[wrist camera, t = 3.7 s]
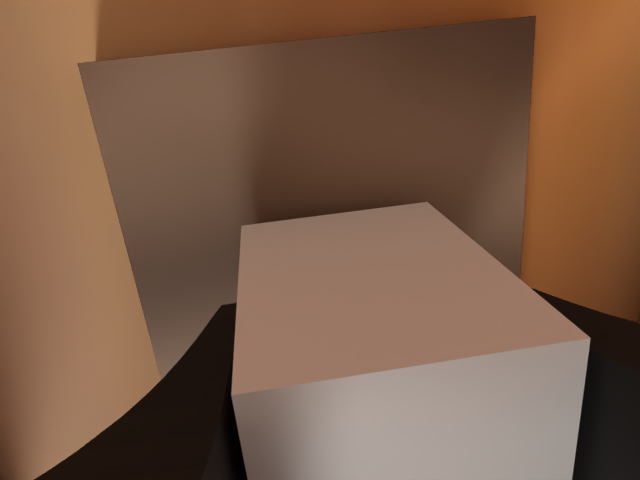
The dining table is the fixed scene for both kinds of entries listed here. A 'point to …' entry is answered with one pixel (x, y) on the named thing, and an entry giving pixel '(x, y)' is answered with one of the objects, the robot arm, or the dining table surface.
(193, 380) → the robot arm
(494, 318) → the block
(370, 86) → the stud block
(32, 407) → the dining table surface
